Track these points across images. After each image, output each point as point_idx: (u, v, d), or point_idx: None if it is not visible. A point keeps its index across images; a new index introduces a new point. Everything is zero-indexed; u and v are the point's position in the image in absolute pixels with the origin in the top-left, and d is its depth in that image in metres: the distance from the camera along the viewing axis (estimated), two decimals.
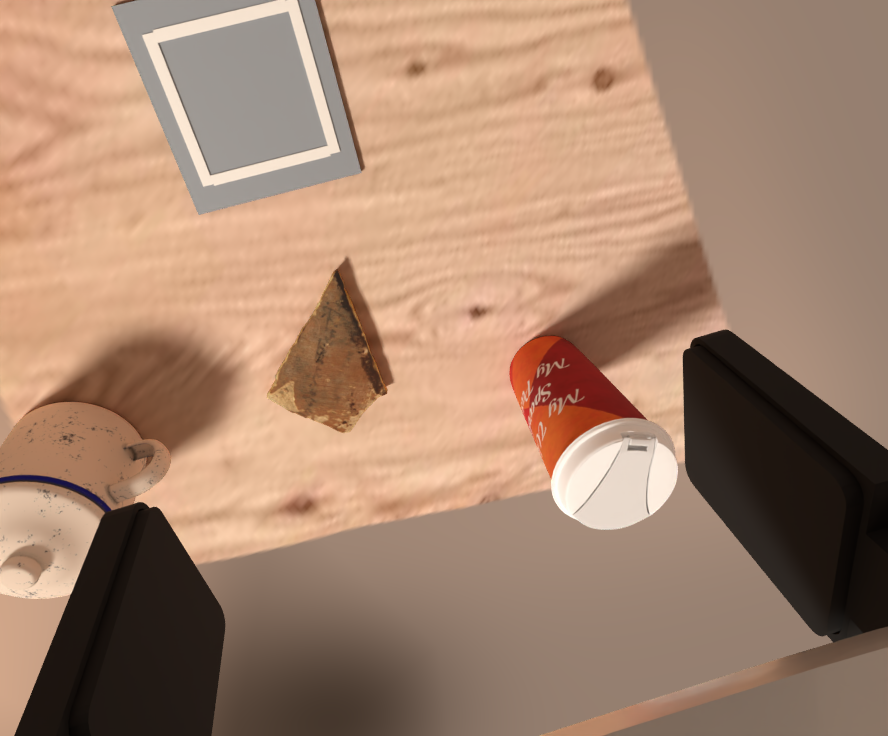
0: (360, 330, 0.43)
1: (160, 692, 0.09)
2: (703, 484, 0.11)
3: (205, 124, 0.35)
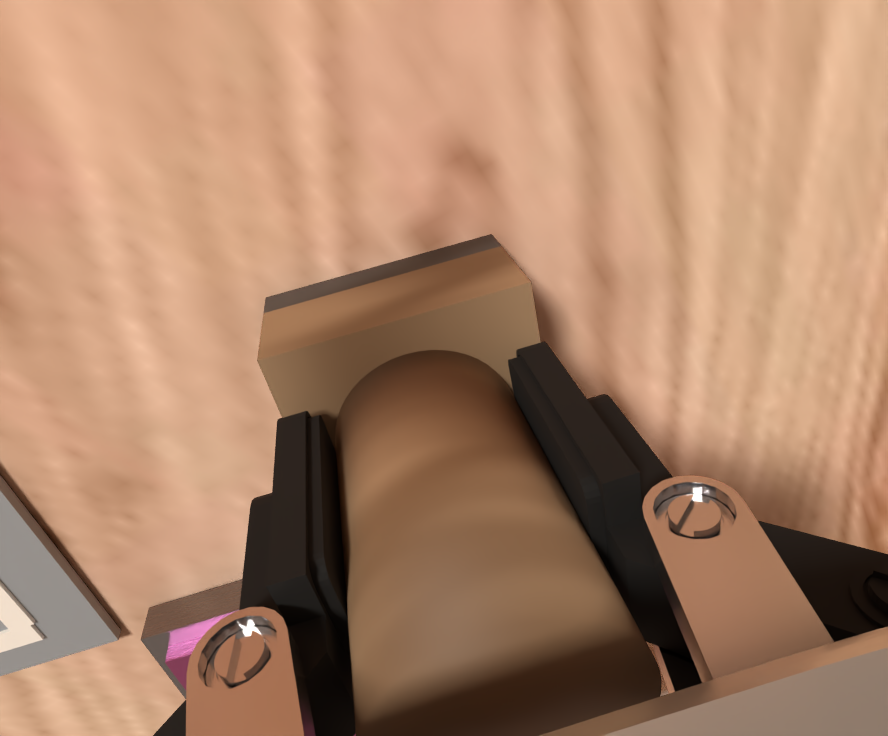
0: None
1: None
2: None
3: None
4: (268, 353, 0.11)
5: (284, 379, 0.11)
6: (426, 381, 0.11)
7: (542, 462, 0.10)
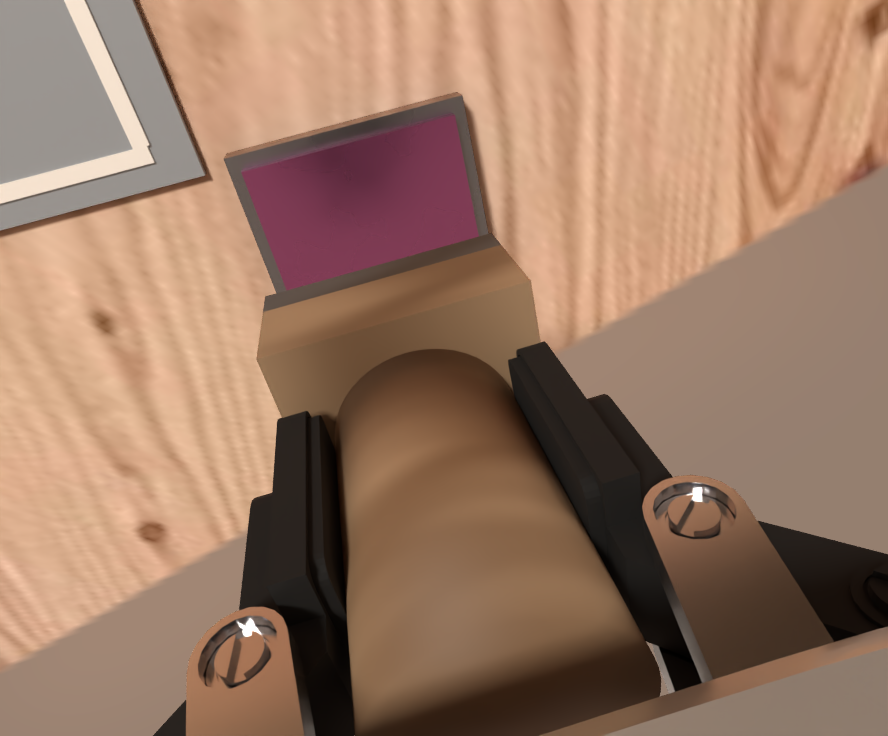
0: None
1: None
2: None
3: None
4: (267, 352, 0.11)
5: (283, 378, 0.11)
6: (426, 380, 0.11)
7: (542, 461, 0.10)
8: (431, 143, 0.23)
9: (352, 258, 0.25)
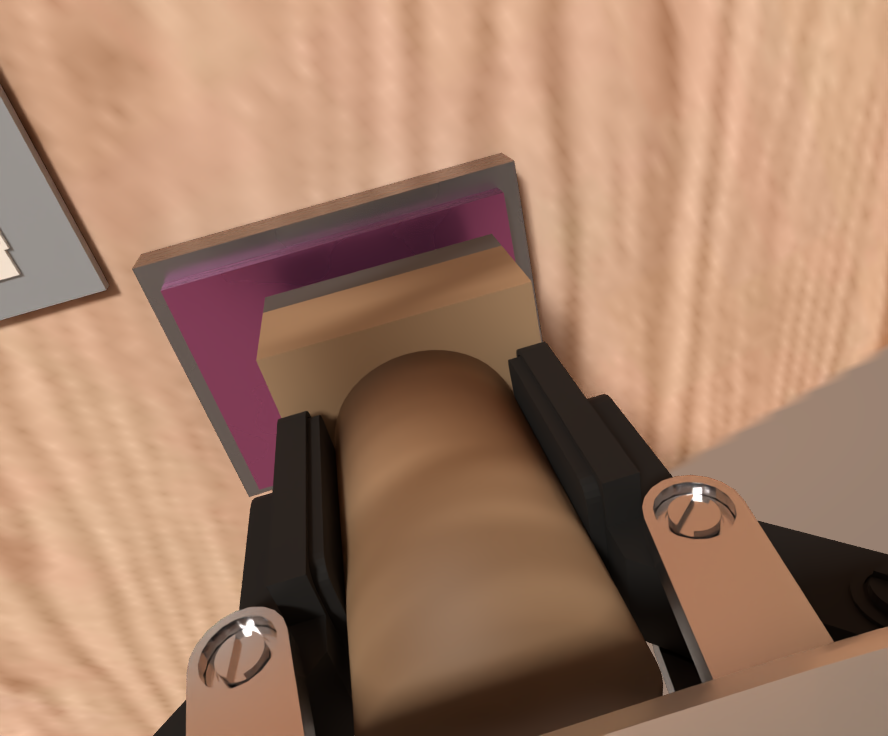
0: None
1: None
2: None
3: None
4: (267, 353, 0.11)
5: (283, 379, 0.11)
6: (426, 381, 0.11)
7: (543, 463, 0.09)
8: (466, 236, 0.15)
9: None
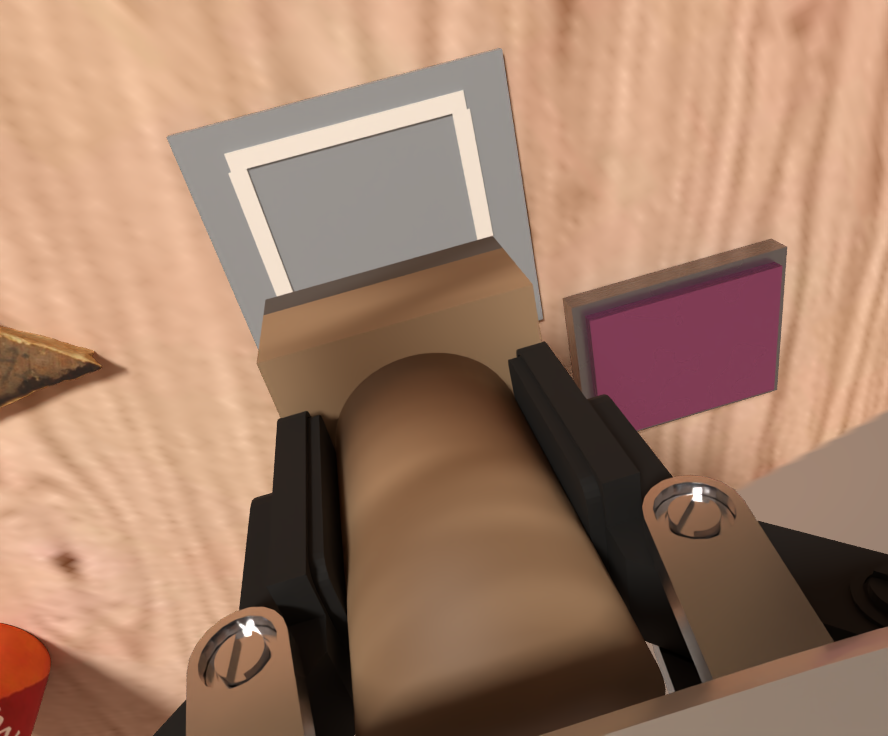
0: None
1: None
2: None
3: (332, 170, 0.21)
4: (268, 356, 0.11)
5: (284, 382, 0.11)
6: (427, 384, 0.11)
7: (544, 467, 0.09)
8: (756, 290, 0.25)
9: (663, 388, 0.27)
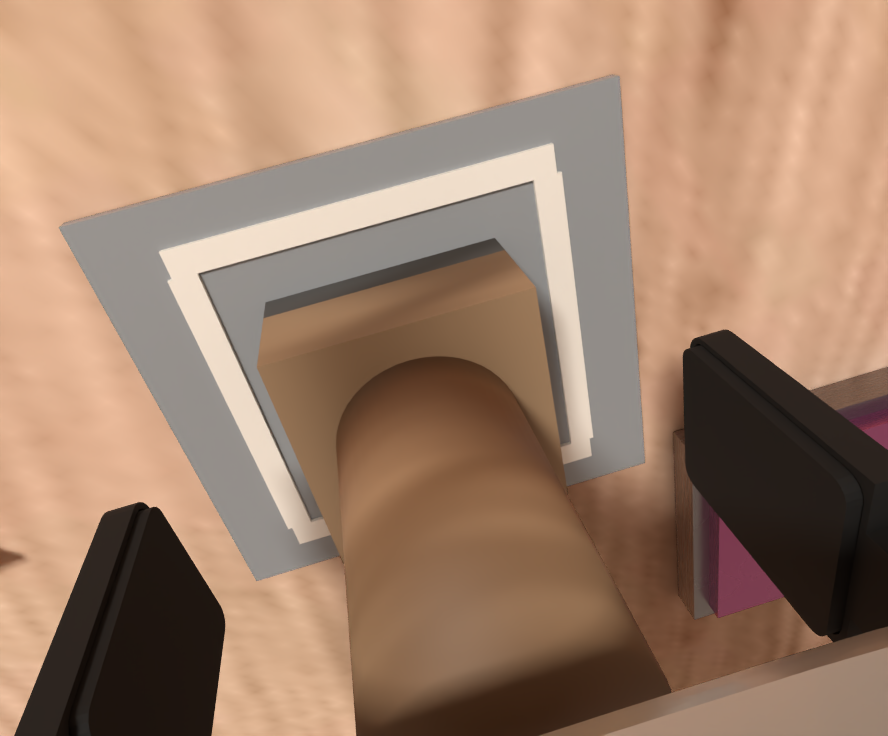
0: None
1: (160, 692, 0.09)
2: (703, 484, 0.11)
3: (339, 271, 0.13)
4: (268, 359, 0.11)
5: (284, 386, 0.11)
6: (429, 388, 0.10)
7: (548, 472, 0.09)
8: None
9: None
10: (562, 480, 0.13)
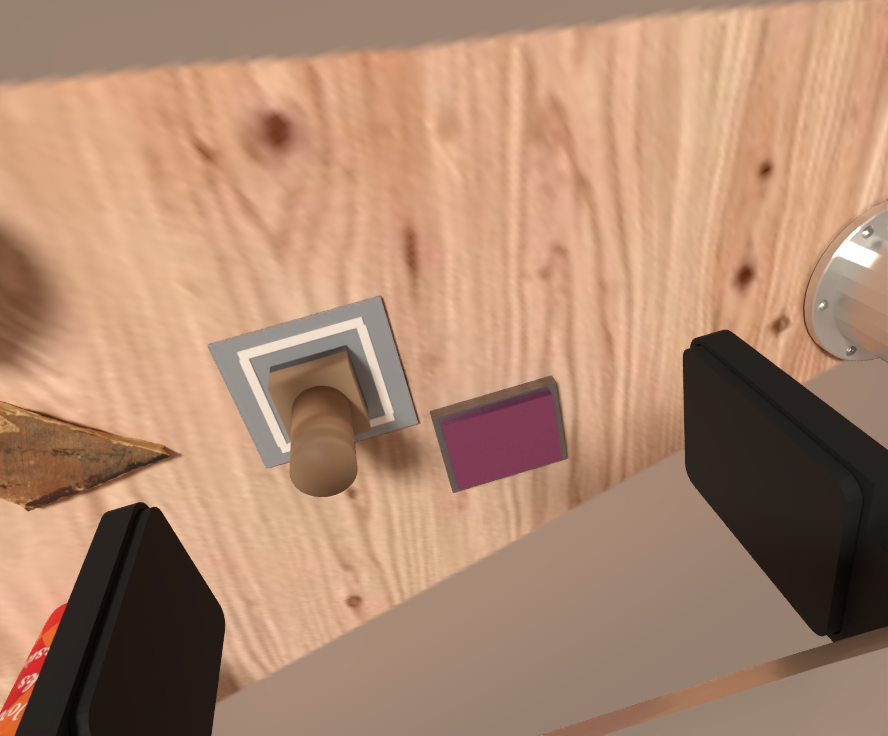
0: (104, 481, 0.41)
1: (160, 692, 0.09)
2: (703, 484, 0.11)
3: (294, 356, 0.40)
4: (271, 387, 0.38)
5: (275, 394, 0.38)
6: (315, 395, 0.37)
7: (343, 417, 0.36)
8: (539, 407, 0.44)
9: (492, 461, 0.46)
10: (368, 425, 0.40)
